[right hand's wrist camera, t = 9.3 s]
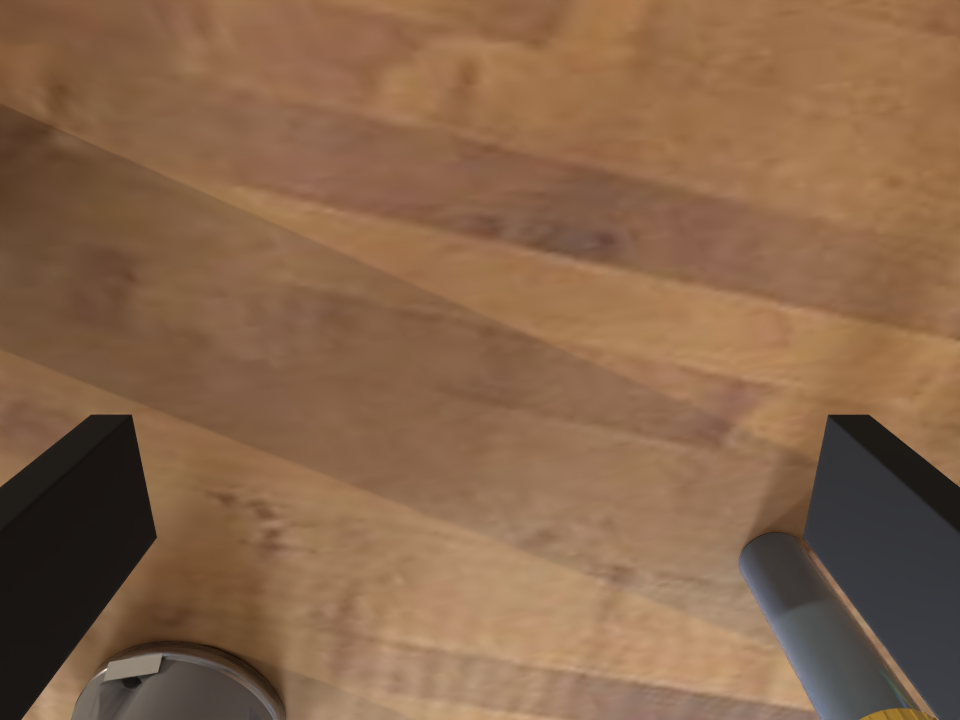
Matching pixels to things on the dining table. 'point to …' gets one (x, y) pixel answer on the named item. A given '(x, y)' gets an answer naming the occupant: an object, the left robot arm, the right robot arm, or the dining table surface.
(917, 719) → the lid
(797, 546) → the grey cylindrical bottle
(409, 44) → the dining table surface
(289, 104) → the dining table surface
